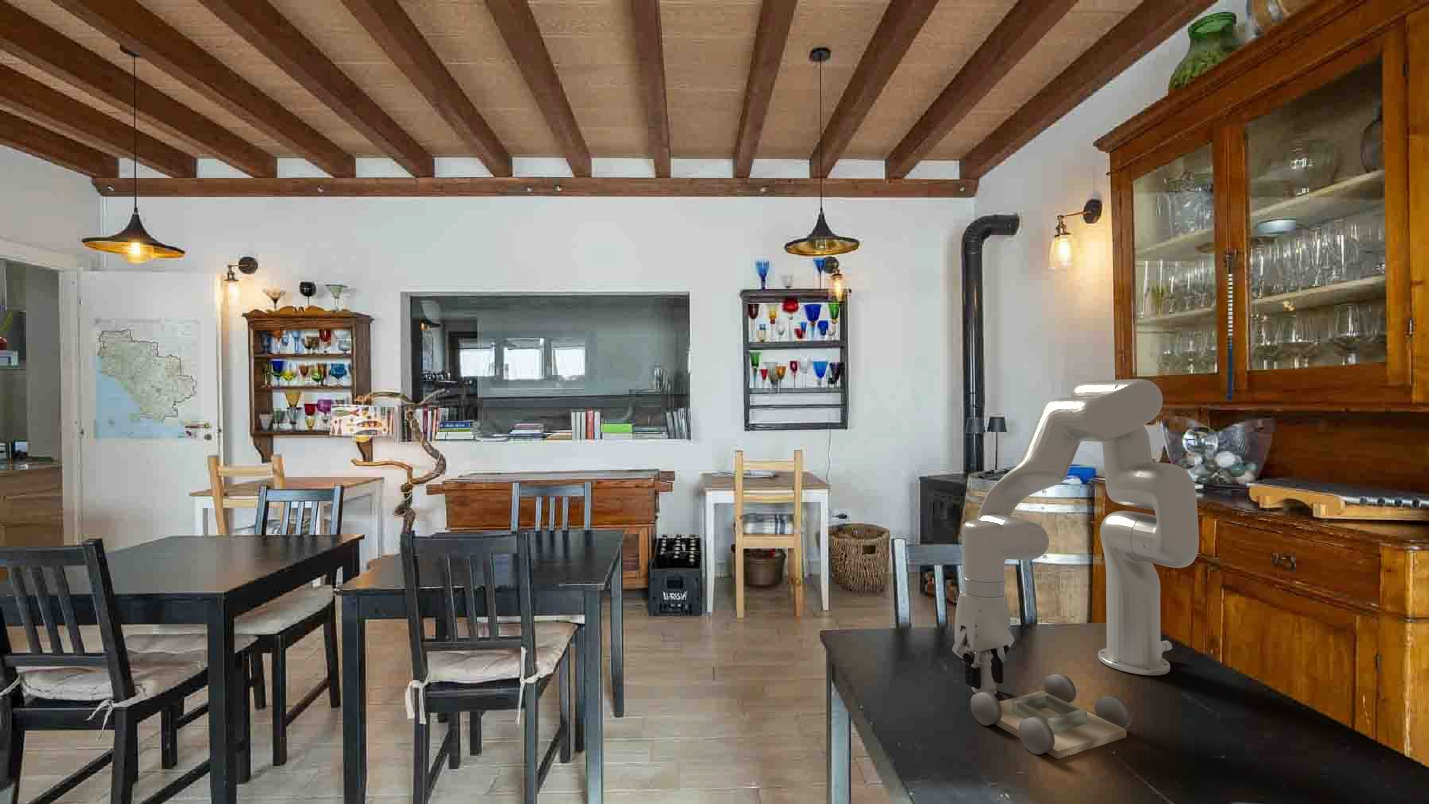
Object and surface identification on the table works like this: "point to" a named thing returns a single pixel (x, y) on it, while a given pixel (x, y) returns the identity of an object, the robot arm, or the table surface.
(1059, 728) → the car chassis
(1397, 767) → the table surface
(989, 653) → the rook chess piece
